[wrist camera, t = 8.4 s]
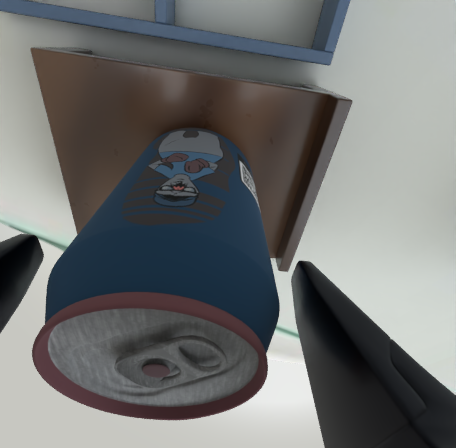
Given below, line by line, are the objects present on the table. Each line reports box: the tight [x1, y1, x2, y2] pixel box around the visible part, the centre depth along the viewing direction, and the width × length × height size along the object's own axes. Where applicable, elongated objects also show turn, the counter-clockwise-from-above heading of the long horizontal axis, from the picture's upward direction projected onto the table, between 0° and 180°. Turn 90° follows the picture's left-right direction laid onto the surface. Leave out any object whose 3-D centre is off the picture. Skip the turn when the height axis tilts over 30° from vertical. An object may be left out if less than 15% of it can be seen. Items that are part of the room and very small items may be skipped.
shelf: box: [31, 48, 352, 272], centre depth 17 cm, size 16×12×6 cm
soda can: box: [32, 128, 279, 420], centre depth 11 cm, size 7×7×12 cm
